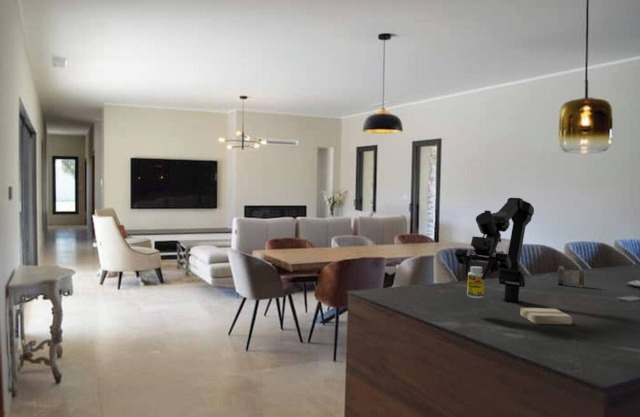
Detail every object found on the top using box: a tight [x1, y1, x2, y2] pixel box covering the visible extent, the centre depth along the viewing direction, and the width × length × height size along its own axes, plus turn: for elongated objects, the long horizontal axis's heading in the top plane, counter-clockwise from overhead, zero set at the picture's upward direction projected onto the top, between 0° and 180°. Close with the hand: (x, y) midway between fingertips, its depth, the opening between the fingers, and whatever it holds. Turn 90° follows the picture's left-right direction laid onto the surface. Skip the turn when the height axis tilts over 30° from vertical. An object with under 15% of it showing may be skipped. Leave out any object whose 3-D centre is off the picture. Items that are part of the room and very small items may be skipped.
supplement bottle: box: [466, 265, 486, 299], centre depth 177 cm, size 6×6×10 cm
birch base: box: [519, 307, 573, 325], centre depth 175 cm, size 12×12×2 cm
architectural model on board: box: [556, 265, 586, 288], centre depth 242 cm, size 11×3×10 cm, turn 64°
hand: (474, 278), depth 176 cm, fingers closed on supplement bottle, 5 cm apart
